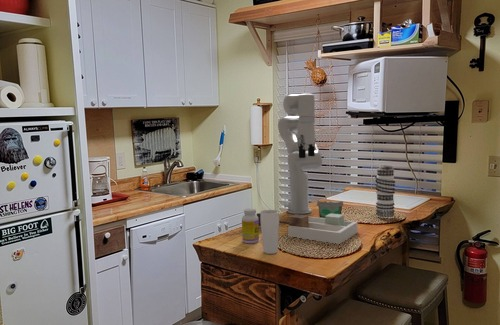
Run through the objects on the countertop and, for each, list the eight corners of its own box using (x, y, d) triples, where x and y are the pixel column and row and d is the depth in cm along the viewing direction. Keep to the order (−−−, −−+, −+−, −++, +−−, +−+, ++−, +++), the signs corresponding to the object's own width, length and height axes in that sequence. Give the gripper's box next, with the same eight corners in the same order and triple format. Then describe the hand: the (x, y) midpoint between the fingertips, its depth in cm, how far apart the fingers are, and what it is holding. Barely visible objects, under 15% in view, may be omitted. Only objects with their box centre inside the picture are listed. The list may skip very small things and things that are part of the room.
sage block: (325, 230, 174) (325, 216, 174) (330, 227, 179) (330, 213, 179) (338, 232, 171) (338, 217, 170) (344, 228, 176) (344, 214, 175)
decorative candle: (372, 215, 206) (373, 165, 204) (391, 215, 206) (392, 164, 203) (377, 219, 197) (378, 167, 195) (397, 219, 197) (398, 166, 194)
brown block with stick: (253, 226, 183) (253, 212, 182) (260, 223, 188) (260, 210, 187) (302, 232, 170) (301, 218, 169) (308, 229, 175) (308, 215, 174)
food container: (314, 223, 192) (314, 202, 191) (317, 220, 198) (317, 199, 197) (341, 225, 188) (341, 203, 187) (343, 222, 194) (343, 200, 193)
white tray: (288, 236, 171) (288, 226, 170) (309, 226, 187) (309, 216, 187) (339, 244, 159) (339, 232, 158) (357, 232, 175) (357, 221, 175)
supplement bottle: (256, 244, 162) (255, 211, 160) (240, 243, 163) (239, 211, 162) (260, 239, 168) (260, 208, 167) (245, 238, 170) (244, 207, 169)
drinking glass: (266, 256, 147) (265, 214, 145) (258, 251, 153) (257, 210, 152) (283, 253, 149) (282, 212, 148) (274, 248, 156) (273, 208, 154)
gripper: (307, 120, 204) (307, 155, 205) (290, 120, 189) (291, 158, 191) (321, 120, 200) (321, 155, 201) (305, 120, 185) (305, 158, 187)
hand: (306, 157), depth 196 cm, fingers open, 9 cm apart
